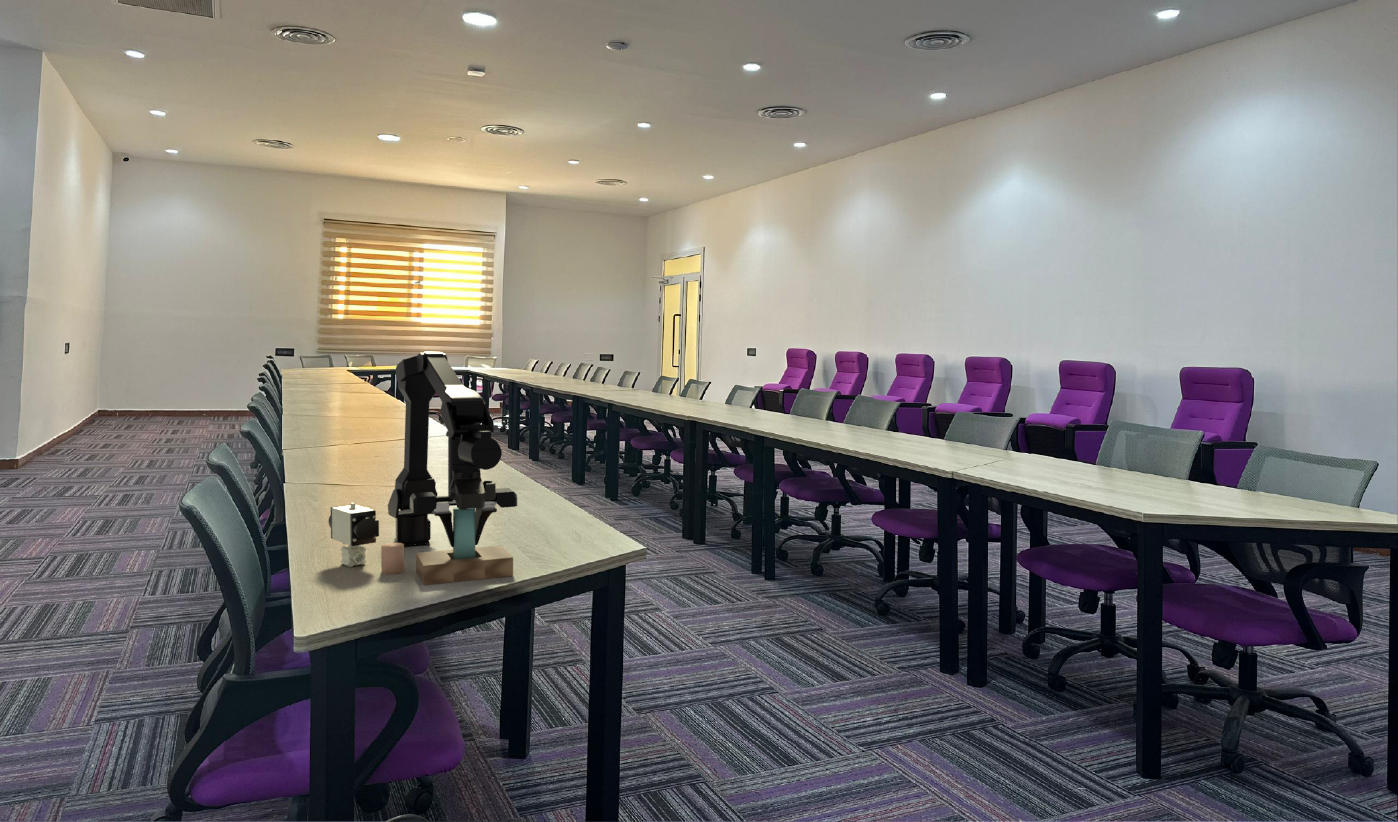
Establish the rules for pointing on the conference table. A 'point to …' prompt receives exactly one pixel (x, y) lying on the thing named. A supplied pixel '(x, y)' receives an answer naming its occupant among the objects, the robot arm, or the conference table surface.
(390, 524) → the conference table surface
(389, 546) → the short pin
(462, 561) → the bore board
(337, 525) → the pneumatic valve
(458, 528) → the tall pin
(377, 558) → the conference table surface
